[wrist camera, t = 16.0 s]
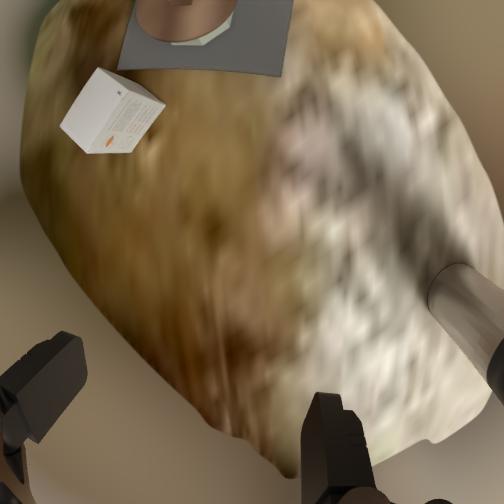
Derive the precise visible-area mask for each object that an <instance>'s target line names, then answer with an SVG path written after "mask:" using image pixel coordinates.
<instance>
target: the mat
mask: <svg viewBox="0 0 504 504" xmlns="http://www.w3.org/2000/svg"><path fill="white" fill-rule="evenodd" d="M137 3H138V0H136V2H135V5H134V8H133V11H132V14H131V18H130V21H129V24H128V28H127V31H126V35H125V39H124V42H123V46H122V50H121V54H120V58H119V63H118V67H117V70H118V71H121V70H139V69H197V70H217V71H230V72H241V73H251V74H260V75H267V76H275V77H281V73H282V67H283V61H284V54H285V48H286V42H287V36H288V30H289V23H290V17H291V11H292V5H293V0H237V3H236V6H235V8H234V11H233V15H232V20H231V24H230V28H228V29H227V30H225V31H224V32H222V33H221V34H219V35H218V36H216V37H215V38H213V39H212V40H210V41H209V42H208V43H206V44H205V45H203V46H199V45H172V44H171V43H170V42H163V41H160V40H157V39H155V38H153V37H151V36H150V35H148V34H147V33H146V32H145V31H144V30H143V29H142V28H141V27H140V25H139V23H138V21H137V17H136V7H137Z"/></svg>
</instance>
